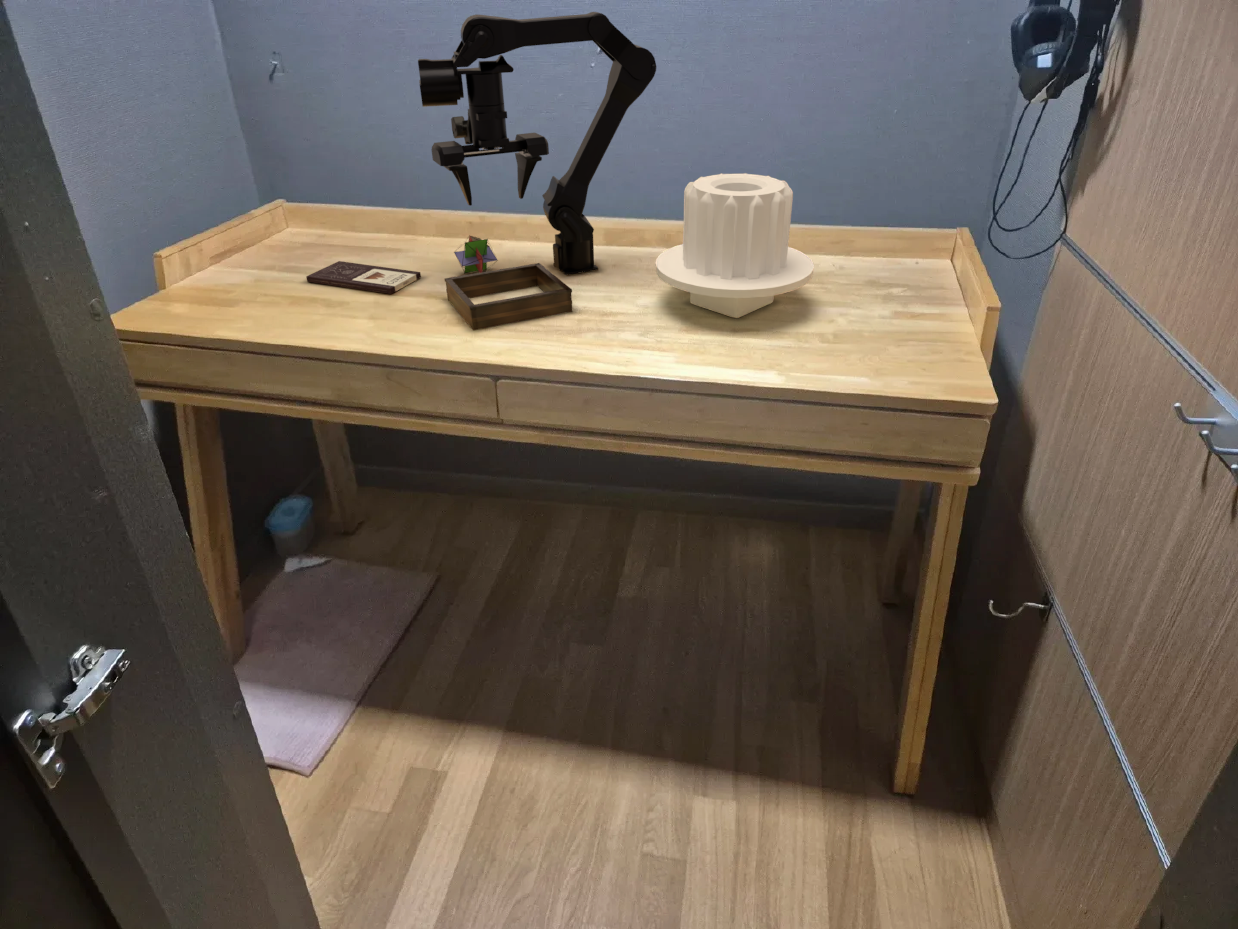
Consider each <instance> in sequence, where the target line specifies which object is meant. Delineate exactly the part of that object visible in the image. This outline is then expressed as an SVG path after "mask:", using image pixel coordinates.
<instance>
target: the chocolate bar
mask: <svg viewBox="0 0 1238 929" xmlns="http://www.w3.org/2000/svg"><path fill="white" fill-rule="evenodd" d="M305 277H306V278H305V279H306V282H309V283H313V284H321V285H326V286H327V285H328V286H335V287H341V288H347V289H354V290H361V291H368V292H374V293H380V294H381V293H382V294H388V295H392V294H394V293H395V292H398V291H399V290H401V289H403V288H405V287H406V286H408V285H410V284H411V283H413V282H415V281H418V280H419V279H421V278H422V274H421V271H414V270H407V269H399V268H393V267H385V266H378V265H371V264H363V263H356V262H348V261H341V260H338V261H336V262H334V263H332V264H330V265H327V266H325V267H323V268H321V269H319V270H317V271H315V272H312V273H311V274H309V275H306V276H305Z"/></svg>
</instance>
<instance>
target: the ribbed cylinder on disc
mask: <svg viewBox="0 0 1238 929" xmlns="http://www.w3.org/2000/svg"><path fill="white" fill-rule="evenodd" d="M793 199H794V192H793V190H792V188H791V187H790V185H789V183H788V182H787V181H786V180H785V179H784V180H781V179H779V178H778V179H777V178H775V177H772V176H770V175H761V174H753V173H752V174H751V173H747V172H744V173H722V172H721V173H719V174H712V175H707V176H699V178H697V179H696V180H694V181H689V182H688V183H687V185H686V186H685V187H684V192H683V226H682V229H683V230H682V243H680V244H677V245H675V246H672V247H669V248H667V249H665V250H664V251H662V252H661V253H660V254H659V255H658V256H657V257H656V259H655V273H656V276H657V277H658V278H659V279H660V280H661V281H662V282H663V283H665V284H667V285H669V286H670V287H672V288H675V289H678V290H681V291H684V292H687V293H689V303H690V304H692V305H694V306H696V307H700V308H703V309H705V310H709V311H712V312H714V313H718V314H720V315H723V316H726V317H730V318H732V319H740V318H741V317H743V316H746V315H748V314H750V313H752V312H755V311H757V310H759V309H761V308H764V307H766V306H769V305H771V304H772V303H773V302H774V298H775V296H778V295H782V294H786V293H789V292H793V291H796V290H798V289H800V288H802V287H805V286H806V285H807V284H808V283H810V281H811V280H812V279H813V276H814V269H815V265H814V262H813V259H812V258H810V256H808V255H807V254H805V252H803V251H800V250H799V249H796V248H793V247H791V246H789V241H790V232H791V231H790V230H791V220H792V212H793V211H792V210H793V201H794V200H793Z"/></svg>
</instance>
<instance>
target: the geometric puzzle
mask: <svg viewBox="0 0 1238 929" xmlns="http://www.w3.org/2000/svg"><path fill="white" fill-rule="evenodd" d="M467 240H468V241H467ZM459 248H461V245H459V246H458V247H457V249H456V250H459ZM453 253H454V255H455V256H456V259H457V261H458V263H459V265H460V267H461V269H464V271H463V275H468V274H470V273H472V274H475V273H476V272H478V273H481V272H487V271H488V269H490V266H489V267H487V266H488V264H487V263H490V262H491V266H494V265H495V264H496V263H497V262H498V261H499V259H498V258H497V256H496V254H495V252H494V251H493V248H492V246H491V244H490V241H489V238H485V237H483V239H482V238H481V236H480V237H479V236H477V237H476V236H475V235H474V236H473V235H468V236H467V239H465V241H464V246H463V250H460V251H453ZM492 262H494V263H492Z"/></svg>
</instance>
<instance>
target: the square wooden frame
mask: <svg viewBox="0 0 1238 929" xmlns="http://www.w3.org/2000/svg"><path fill="white" fill-rule="evenodd" d="M444 283H445V288H446V290H445V291H446V292H445V293H446V295H447V300H448V302H449V303H450V304H451V305H452V307H453V308H454V309H455V310H456V312H458V314H459V315H460V316H461V317H462V318H463V320H464V321H465V322H466V323H467V325H468V326H469V327H470V328H471V329H472V331H477V330H483V329H487V328H492V327H499V326H504V325H508V324H509V325H510V324H514V323H519V322H523V321H530V320H535V319H540V318H545V317H551V316H555V315H561V314H565V313H566V314H567V313H572V312H573V299H572V298H573V297H572V293H573V289H572V288H571V287H570V286H569V285H567V284H566V283H565V282H563V281H562V280H561V279H560V278H558V277H557V276H556V275H555V274H553V272H551V271H550V270H549V269H548V268H546V267H545V266H544V265H543V264H541V263H540V262H536V263H530V264H524V265H519V266H518V265H517V266H513V267H507V268H499V269H494V270H493V269H492V270H486V271H483V272H481V273H480V272H474V273H468V274H463V275H457V276H452V277H445V278H444ZM534 287H535V288H536V287H538V288H539V289H541V290H542V291H543V292H538V293H532V294H525V295H521V296H516V297H510V298H504V299H497V300H493V301H492V300H491V301H486V302H481V303H474V302H473V301H472V300H471V299H470V298H476V297H477V298H478V297H482V296H488V295H494V294H500V293H506V292H511V291H517V290H522V289H528V288H534Z"/></svg>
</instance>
